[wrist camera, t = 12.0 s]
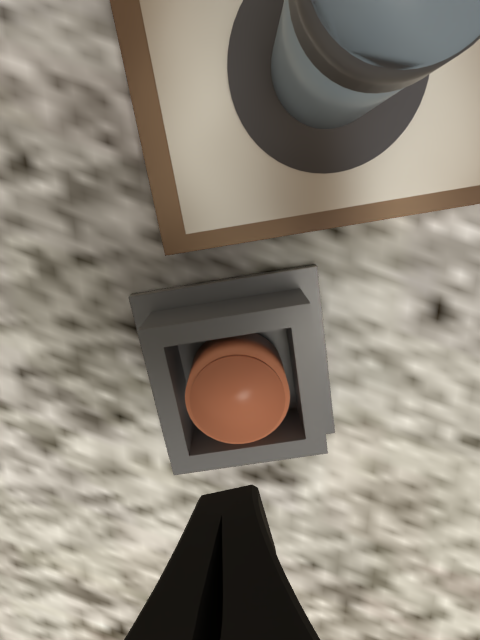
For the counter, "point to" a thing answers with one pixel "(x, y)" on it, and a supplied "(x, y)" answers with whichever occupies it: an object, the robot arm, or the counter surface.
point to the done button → (237, 389)
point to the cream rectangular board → (281, 132)
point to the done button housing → (227, 321)
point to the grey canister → (362, 52)
